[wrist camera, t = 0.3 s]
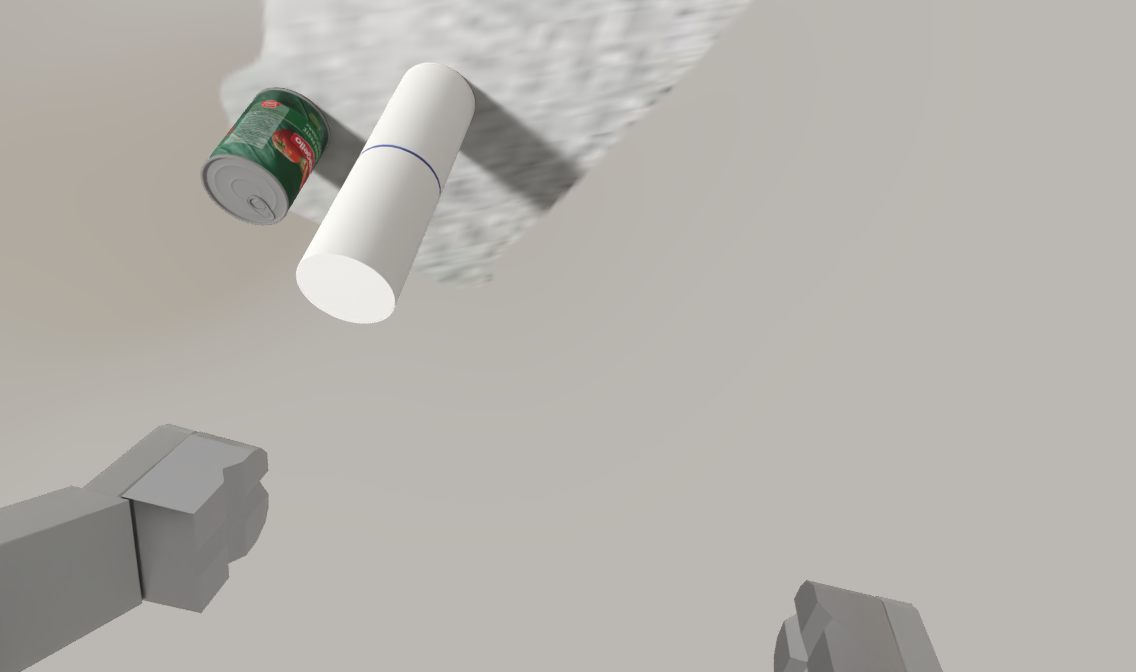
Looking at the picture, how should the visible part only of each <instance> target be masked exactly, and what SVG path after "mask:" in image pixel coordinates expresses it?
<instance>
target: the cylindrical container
mask: <svg viewBox="0 0 1136 672" xmlns="http://www.w3.org/2000/svg"><path fill="white" fill-rule="evenodd" d="M474 112H475V98H474V94H473V92H472V89H471V88H470V86H469V84H468V83H467V82H466V80H465V79H464V78H463V77H462V76H461V75H460V74H458V73H457V72H456V71H454V70H453V69H451V68H449V67H447V66H444V65H442V64H437V63H422V64H418V65H416V66H414V67H412V68H411V69H409V70H408V71H407V72H406V74H405V75H404V77H403V78H402V80H401V82H400V84H399V86H398V87H397V89H396V91H395V93H394V95H393V96H392V98H391V100H390V102H389V103H388V105H387V107H386V109H385V111H384V112H383V114H382V116H381V118H380V120H379V121H378V123H377V125H376V127H375V129H374V130H373V132H372V134H371V136H370V138H369V139H368V141H367V143H366V145H365V147H364V148H363V150H362V152H361V154H360V156H359V157H358V159H357V161H356V163H355V165H354V166H353V168H352V170H351V172H350V174H349V175H348V177H347V179H346V181H345V183H344V184H343V186H342V188H341V190H340V192H339V193H338V195H337V197H336V199H335V201H334V202H333V204H332V206H331V208H330V210H329V211H328V213H327V215H326V217H325V218H324V220H323V222H322V224H321V226H320V227H319V229H318V231H317V233H316V235H315V236H314V238H313V240H312V242H311V244H310V245H309V247H308V249H307V251H306V253H305V255H304V256H303V258H302V260H301V262H300V263H299V265H298V268H297V270H296V279H297V284H298V285H299V287H300V289H301V291H302V292H303V293H304V295H305V296H306V297H307V299H308V300H309V301H310V302H312V303H313V304H314V305H315V306H316V307H318V308H319V309H321V310H322V311H324V312H326V313H327V314H330V315H332V316H334V317H336V318H339V319H342V320H345V321H349V322H354V323H364V324H365V323H375V322H379V321H382V320H384V319H386V318H387V317H388V316H389V315H390V314H391V313H392V312H393V310H394V308H395V305H396V303H397V300H398V298H399V296H400V293H401V290H402V288H403V285H404V283H405V281H406V278H407V276H408V274H409V271H410V269H411V266H412V264H413V261H414V259H415V257H416V254H417V252H418V249H419V247H420V244H421V242H422V239H423V237H424V235H425V232H426V230H427V227H428V225H429V222H430V220H431V218H432V215H433V213H434V210H435V208H436V205H437V203H438V200H439V198H440V196H441V193H442V191H443V188H444V186H445V183H446V181H447V179H448V176H449V174H450V171H451V169H452V166H453V164H454V161H455V159H456V157H457V154H458V152H459V149H460V147H461V144H462V142H463V139H464V137H465V135H466V132H467V130H468V127H469V125H470V122H471V120H472V118H473V115H474Z"/></svg>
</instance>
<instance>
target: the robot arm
mask: <svg viewBox="0 0 1136 672" xmlns="http://www.w3.org/2000/svg"><path fill="white" fill-rule="evenodd" d="M267 471H268V460H267V452H265V451H264V450H263V449H261V448H259V447H256V446H252V445H248V444H244V443H241V442H237V441H233V440H230V439H225V438H222V437H218V436H215V435H211V434H207V433H203V432H197V431H193V430H189V429H186V428H182V427H178V426H175V425H171V424H166V425H162V426H158V427H157V428H155V429H154V430H153V431H152V432H151V433H149V434H148V435H147V436H146V437H144V438H143V439H142V440H141V441H139V442H138V443H137V444H136V445H135V446H133V447H132V448H131V449H130V450H129V451H127V452H126V453H125V454H124V455H122V456H121V457H120V458H119V459H118V460H116V461H115V462H114V463H113V464H111V465H110V466H109V467H108V468H106V469H105V470H104V471H103V472H101V473H100V474H99V475H98V476H97V477H95V478H94V479H93V480H92V481H90V482H89V483H88V484H87V485H86V486H84V487H83V488H79V487H74V486H70V487H67V488H64V489H60V490H58V491H54V492H51V493H48V494H44V495H42V496H38V497H35V498H32V499H29V500H25V501H22V502H19V503H16V504H13V505H9V506H6V507H3V508H0V672H21V671H22V670H24V669H26V668H28V667H30V666H32V665H33V664H35V663H37V662H39V661H40V660H42V659H44V658H46V657H47V656H49V655H51V654H53V653H55V652H56V651H58V650H60V649H62V648H63V647H65V646H67V645H69V644H71V643H72V642H74V641H76V640H78V639H79V638H81V637H83V636H85V635H87V634H88V633H90V632H92V631H94V630H96V629H97V628H99V627H101V626H102V625H104V624H106V623H108V622H110V621H112V620H113V619H115V618H117V617H119V616H120V615H122V614H124V613H126V612H128V611H129V610H131V609H133V608H135V607H136V606H138V605H140V604H141V603H142V600H145V601H150V602H154V603H158V604H163V605H168V606H172V607H176V608H181V609H186V610H190V611H194V612H199V613H202V611H203V610H204V609H205V607H206V606H207V605H208V604H209V602H210V601H211V600H212V599H213V597H214V596H215V595H216V593H217V592H218V591H219V590H220V588H221V587H222V586H223V584H224V583H225V582H226V581H227V579H228V578H229V571H228V563H230V562H232V561H235V560H237V559H239V558H241V557H243V556H245V555H247V553H248V552H249V551H250V549H251V548H252V547H253V545H254V544H255V543H256V541H257V539H258V537H259V535H260V533H261V530H262V528H263V526H264V524H265V521H266V516H267V511H268V493H267V491H266V490H265V489H264V487H263V486H262V484H261V483H260V480H261V478H262V477H263V476H264V475H265V474H266V473H267ZM794 600H795V605H796V611H797V614H796V615H794V616H792V617H790V618H788V619H786V620H785V621H784V622H783V625H782V627H781V630H780V632H779V634H778V637H777V642H776V648H775V654H774V672H943V671H942V669H941V666H940V664H939V661H938V659H937V656H936V654H935V651H934V649H933V647H932V644H931V642H930V639H929V637H928V635H927V632H926V629H925V627H924V624H923V622H922V619H921V617H920V614H919V612H918V610H917V609H916V608H915V607H914V606H913V605H912V604H910V603H905V602H901V601H896V600H892V599H887V598H883V597H879V596H875V597H874V596H871V595H867V594H863V593H859V592H854V591H850V590H846V589H842V588H837V587H833V586H829V585H824V584H820V583H816V582H812V581H807V580H806V581H805V582H804V583H803V585H801V586H800V588H799V590H798V592H797V594H796V596H795V598H794Z"/></svg>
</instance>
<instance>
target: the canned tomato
mask: <svg viewBox="0 0 1136 672" xmlns="http://www.w3.org/2000/svg"><path fill="white" fill-rule="evenodd" d="M329 141H330V130H329V126H328V123H327V121H326V119H325V117H324V116H323V114H322V113H321V111H320V110H319V109H318V108H317V107H316V106H315V105H314V104H313V103H312V102H311V101H309V100H308V99H307V98H305V97H304V96H302V95H300V94H298V93H296V92H294V91H291V90H288V89H284V88H268V89H265V90H262V91H261V92H260V93H258V94H257V95H256V97H255V98H254V99H253V102H252V103H251V104H250V105H249V106H248V108H247V109H246V110H245V112H244V113H243V114H242V115H241V117H240V118H239V119H238V121H237V122H236V123H235V124H234V126H233V127H232V128H231V130H230V131H229V132H228V134H227V135H226V136H225V138H224V139H223V140H222V141H221V143H220V144H219V145H218V147H217V148H216V149H215V150H214V152H213V153H212V155H211V156H210V158H209V159H208V160H206V161H205V163H204V164H203V166H202V169H201V181H202V185H203V187H204V189H205V191H206V192H207V194H208V195H209V197H210V198H211V199H212V200H213V201H214V202H215V204H216V205H218V206H219V207H220V208H221V209H222V210H224V211H225V212H227V213H228V214H230V215H231V216H233V217H235V218H237V219H239V220H241V221H244V222H247V223H251V224H255V225H272V224H275V223H278V222H279V221H281V220H282V219H283V218H284V217H285V216H286V214H287V212H288V210H289V208H290V206H291V205H292V204H293V202H294V200H295V199H296V197H297V195H298V194H299V192H300V190H301V189H302V187H303V185H304V184H305V182H306V180H307V179H308V177H309V175H310V174H311V172H312V170H313V169H314V167H315V165H316V164H317V162H318V160H319V159H320V157H321V155H322V153H323V152H324V150H325V149H326V148H327V146H328V144H329Z"/></svg>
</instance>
